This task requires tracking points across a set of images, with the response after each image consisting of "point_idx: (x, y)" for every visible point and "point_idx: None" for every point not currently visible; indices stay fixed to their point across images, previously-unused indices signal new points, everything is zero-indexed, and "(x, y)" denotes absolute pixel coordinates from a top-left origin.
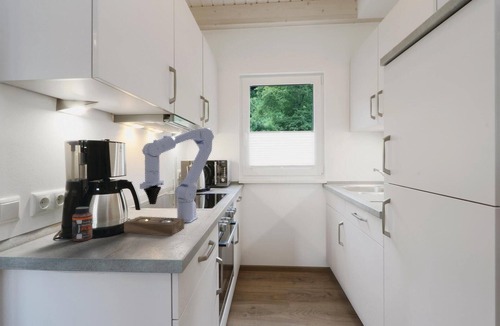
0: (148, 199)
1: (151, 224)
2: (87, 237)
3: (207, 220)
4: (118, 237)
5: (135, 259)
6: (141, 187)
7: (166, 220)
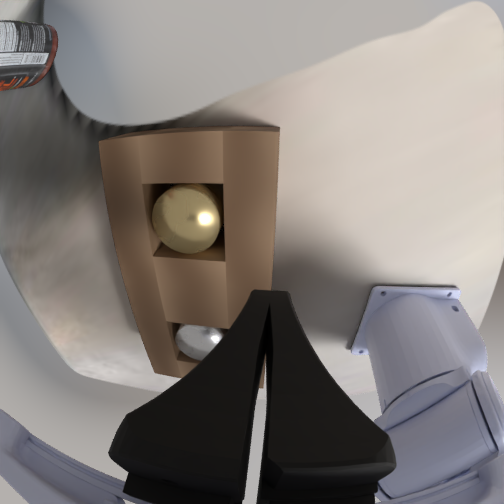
0: (234, 321)
1: (131, 303)
2: (23, 87)
3: None
4: (76, 164)
5: (30, 311)
6: (7, 432)
7: (212, 342)
